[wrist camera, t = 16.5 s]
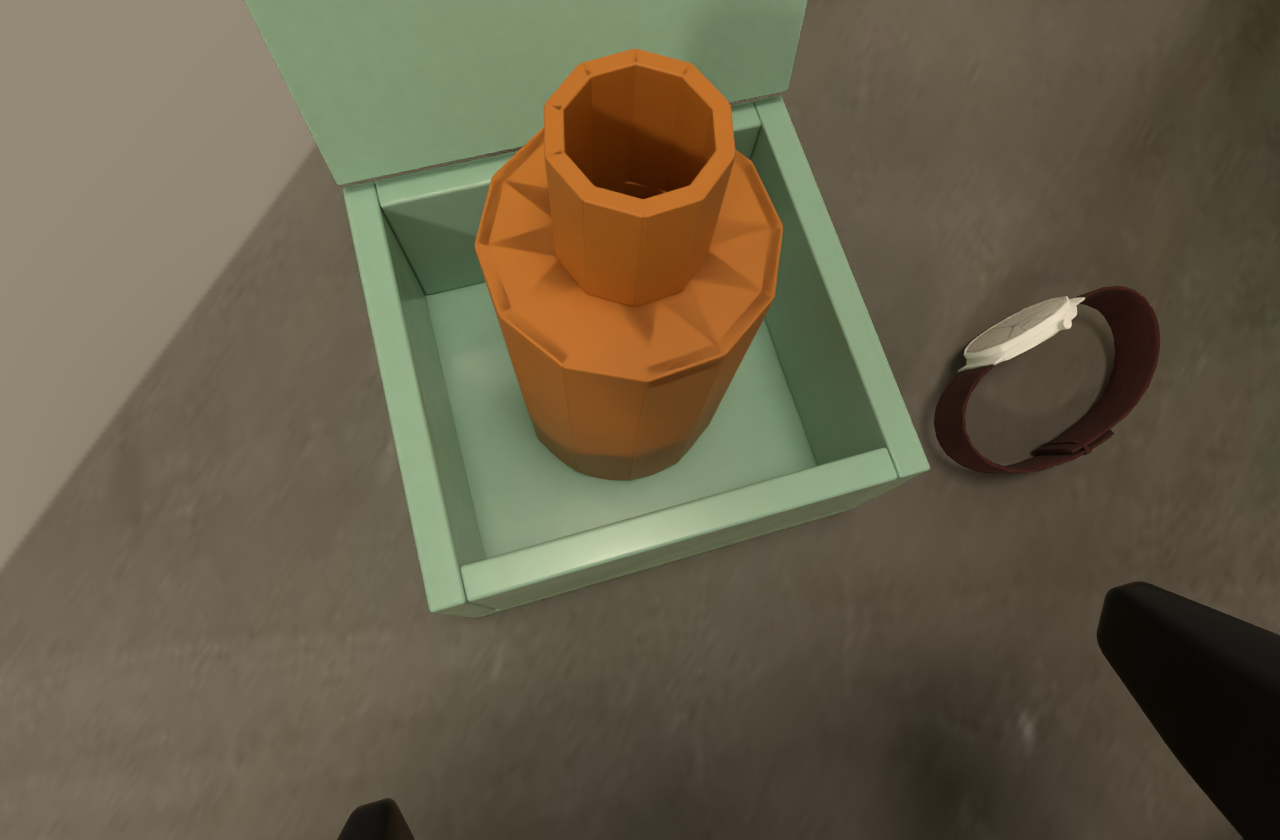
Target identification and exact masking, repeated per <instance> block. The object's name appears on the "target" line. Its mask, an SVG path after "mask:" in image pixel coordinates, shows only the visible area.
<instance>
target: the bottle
mask: <svg viewBox="0 0 1280 840" xmlns="http://www.w3.org/2000/svg"><path fill="white" fill-rule="evenodd" d="M782 235H783V225H782V223H781V220H780V218H779V216H778V214H777V212H776V210H775V208H774V206H773V204H772V202H771V200H770V197H769V195H768V193H767V191H766V189H765V187H764V185H763V183H762V181H761V179H760V177H759V174H758V172H757V170H756V168H755V166H754V164H753V162H752V161H751V160H749V159H748V158H747V157H745V156H744V155H743V154H741V153H740V152H738V151H737V150H736V149H735V141H734V130H733V120H732V110H731V105H730V103H729V101H728V100H727V99H726V98H725V97H724V96H723V95H722V94H721V93H720V92H719V91H718V90H717V89H716V88H715V87H714V86H713V85H712V84H711V83H710V81H709V80H708V79H707V78H706V77H705V76H704V75H703V74H702V73H701V72H700V71H699V70H698V69H697V68H696V67H695V66H694V65H693V64H691V63H689V62H685V61H681V60H678V59H674V58H670V57H666V56H662V55H659V54H655V53H651V52H647V51H643V50H640V49H631V50H627V51H623V52H619V53H616V54H612V55H608V56H605V57H601V58H597V59H594V60H590V61H586V62H583V63H580V65H577V66H576V68H575V69H574V70H573V71H572V72H571V73H570V75H569V76H568V77H567V78H566V79H565V81H564V82H563V83H562V84H561V85H560V86H559V88H558V89H557V90H556V91H555V92H554V93H553V95H552V96H551V97H550V98H549V99H548V100H547V102H546V103H545V105H544V127H543V128H542V129H541V130H540V131H539V132H538V133H537V134H536V135H534V136H533V137H532V138H531V139H530V140H529V141H528V142H527V143H526V144H525V145H524V146H523V147H522V148H521V149H520V150H519V151H518V152H517V153H516V154H515V155H514V156H512V157H511V158H510V159H509V160H508V161H507V162H506V163H505V164H504V165H503V166H502V167H501V168H500V169H499V170H498V171H497V172H496V173H495V174H494V175H493V177H492V178H491V182H490V186H489V190H488V193H487V197H486V201H485V205H484V209H483V213H482V217H481V221H480V225H479V229H478V232H477V236H476V240H475V244H474V245H475V251H476V254H477V257H478V260H479V263H480V266H481V269H482V272H483V275H484V279H485V282H486V285H487V288H488V291H489V294H490V297H491V300H492V303H493V306H494V309H495V313H496V316H497V319H498V322H499V325H500V328H501V331H502V334H503V337H504V340H505V343H506V346H507V350H508V353H509V356H510V359H511V362H512V365H513V368H514V371H515V374H516V377H517V380H518V384H519V387H520V390H521V393H522V396H523V399H524V401H525V404H526V407H527V410H528V413H529V416H530V419H531V421H532V424H533V427H534V430H535V433H536V436H537V438H538V439H539V441H541V442H542V443H543V444H544V445H545V446H546V447H547V448H548V449H549V450H550V451H551V452H552V453H553V454H554V455H555V456H556V457H557V458H558V459H560V460H561V461H562V462H564V463H565V464H566V465H568V466H570V467H571V468H573V469H574V470H576V471H578V472H581V473H584V474H587V475H589V476H593V477H597V478H601V479H608V480H632V479H638V478H643V477H646V476H650V475H653V474H655V473H657V472H660V471H662V470H664V469H666V468H667V467H669V466H671V465H674V464H676V463H678V462H679V461H680V460H681V458H682V457H683V456H684V455H685V454H686V453H687V452H688V451H689V450H690V449H691V448H692V446H693V445H694V443H695V442H696V441H697V439H698V438H699V437H700V435H701V434H702V433H703V432H704V431H705V429H706V428H707V427H708V426H709V424H710V422H711V420H712V418H713V416H714V414H715V412H716V410H717V408H718V406H719V404H720V402H721V400H722V398H723V397H724V395H725V393H726V391H727V389H728V387H729V385H730V383H731V381H732V379H733V377H734V375H735V373H736V371H737V369H738V368H739V366H740V364H741V362H742V360H743V358H744V356H745V354H746V352H747V350H748V348H749V346H750V344H751V342H752V340H753V338H754V337H755V335H756V333H757V331H758V329H759V327H760V325H761V323H762V321H763V319H764V317H765V315H766V313H767V311H768V309H769V307H770V306H771V304H772V302H773V300H774V297H775V293H776V285H777V276H778V268H779V260H780V251H781V243H782Z"/></svg>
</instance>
